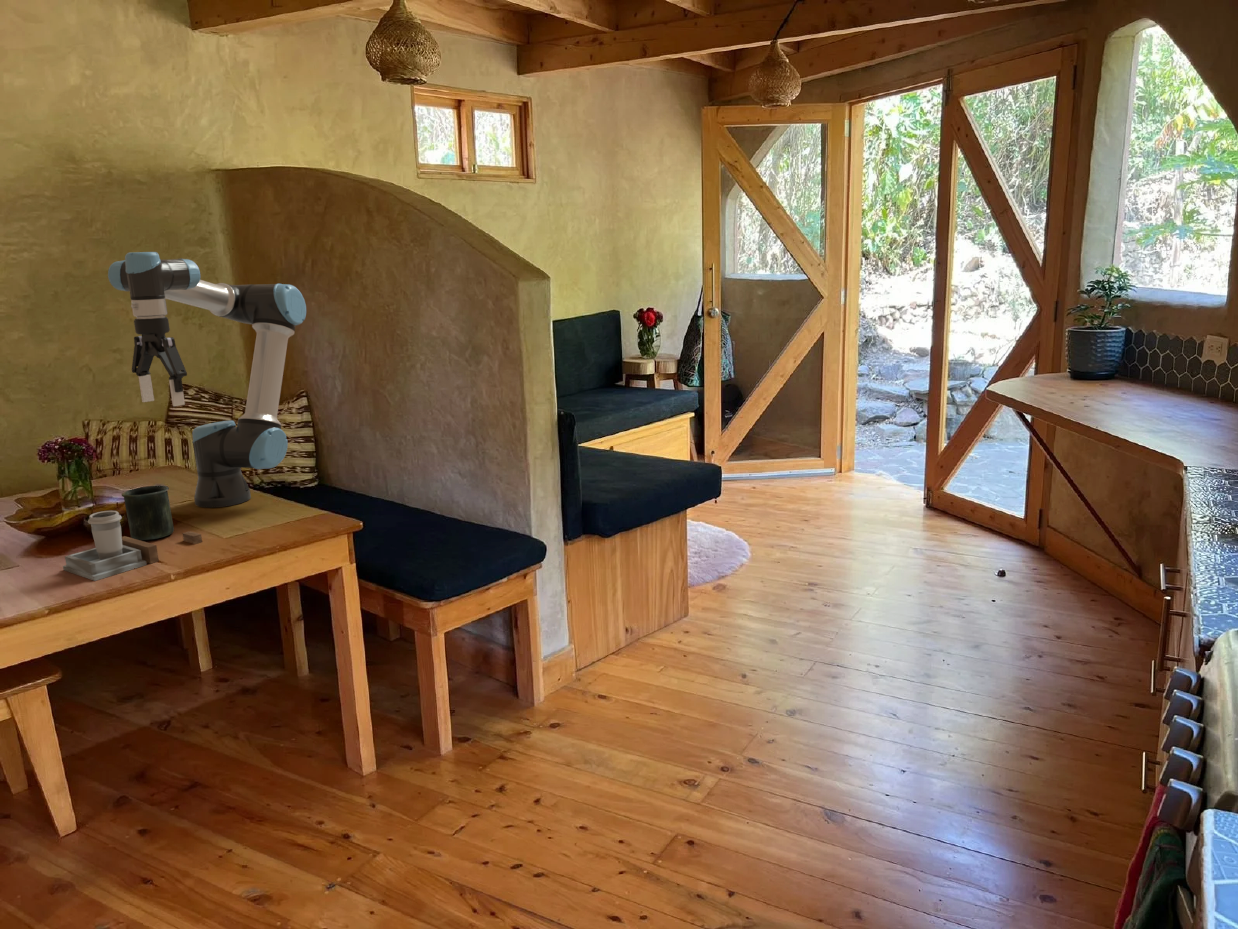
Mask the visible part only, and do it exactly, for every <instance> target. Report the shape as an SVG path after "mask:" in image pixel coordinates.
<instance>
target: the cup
mask: <svg viewBox="0 0 1238 929" xmlns="http://www.w3.org/2000/svg"><path fill="white" fill-rule="evenodd" d="M122 518H123V517H122V515H121V514H120V513H119V511H117V510H104V511H103V510H102V511H98V512H94V513H92V514H90V515H89V518H88V520H87V523H88V524H90V527H91V529H90V530H91V533H92V538H93V540H94V541H93V542H94V546H95V548H96V550H97V552H98V556H99V560H100V561H101V560H104V559H107V558H111V557H114V556H118V555H121V554H123V553H122V548H123V546H122V537H123V536H122V526H121V520H122Z"/></svg>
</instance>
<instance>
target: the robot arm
mask: <svg viewBox="0 0 1238 929" xmlns="http://www.w3.org/2000/svg"><path fill="white" fill-rule="evenodd" d="M107 277H108V281H109V283H110V284H111V286H112V287H113V288H114V289H115V290H118V291H123V292H129V296H130V301H131V305H130V308H131V309H132V316H133V317H134V319H133V325H134V332H135V333H136V334H137V335H139V336H134V337H133V341H134V342H133V344H134V347H133V353H132V354H133V355H132V365H131V373H132V374H133V373H135V375H136V376H137V377H138V383H139V389H140V396H141V402H142V403H148V402H154V401H155V395H154V389H153V383H152V376H151V374H152V373H151V372H150V368H151V366H152V363H153V360H154V357H156V358H157V359H159V360H160V362H161V363H162V365H163V367H164V369H165V370H166V372H167V373H168V375H169V377H168V381H169V382H168V383H169V389H170V396H171V403H172V407H179V406H184V405H185V404H186V400H185V396H184V388H183V380H182V379H183V378H184V377H187V376H188V373H187V370H186V367H185V365H184V363H183V360H182V358H181V355H180V352H179V351H178V349H177V345H176V341H175V338H174V337H166V334H167V333H169V332H170V331H171V329H170V323H169V318H168V316H167V315H168V307H167V301H166V300H170V301H173V302H178V303H181V304H184V305H189V306H192V307H197V308H200V309H202V310H203V309H204V310H208V311H209V312H210V313H211V314H212V315H214V316H217V317H219V318H224V319H228V320H231V321H235V322H238V323H241V324H242V323H243V324H247V325H251V328H252V329H253V330H254V331H255V333H256V338H255V342H254V348H253V349H254V351H253V355H252V356H253V357H252V358H253V359H252V364H251V369H250V370H251V371H250V378H249V385H248V391H247V397H246V404H245V410H244V413H243V415H241V416H240V417H238V420H237V424H236V422H235V421H234V420H222V421H216V422H211V423H205V424H203V425H199V426H197V427H195V428H194V429H193V430H192V446H193V452H194V459H195V467H196V472H197V483H196V487H195V492H194V496H193V497H194V505H195V506H196V507H200V508H208V509H209V508H210V509H211V508H223V507H230V506H234V505H239V504H242V503H244V502H247V501H250V500H251V498H252V496H251V495H252V494H251V489H250V487H249V485H248V483H247V481H246V480H245V478H244V475H243V474H242V469H243V468H244V469H255V470H263V469H273V468H275V467H278V465H279V464H281V462H282V461H283V460H284V459H285V457H286V454H287V452H288V446H289V445H288V441H289V440H288V439H287V434H286V432H285V431H284V430H282V423H281V422H280V421H279V420H278V414H279V405H280V400H281V399H280V398H281V392H282V384H283V378H284V376H283V375H284V370H285V364H286V355H287V348H288V342H289V338H290V337H293V336H294V335H295V334H296V333H295V331H296V326H300V325H301V324H303V322H304V321H305V320H306V316H307V304H306V300H305V298H304V296H303V294H302V292H301V291H300V290H299V289H298V288H297V287H296V286H295V285H293V284H289V283H288V284H286V283H285V284H284V283H283V284H282V283H271V284H270V283H268V284H265V283H263V284H253V283H251V284H229V283H225V282H219V283H213V282H209V281H206V280H203V279H201V271H200V268H199V266H198V265H197V263H196V262H195V261H194V260H191V259H188V258H172V259H171V258H170V259H161V258H160V255H159V253H158V252H157V251H142V252H140V251H137V252H127V253H126V254H125V256H124V260H119V261H118V260H117V261H114V262H113V263H111V264H110V266H109V268H108V272H107ZM135 317H136V318H135ZM185 406H186V405H185Z"/></svg>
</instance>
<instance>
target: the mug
mask: <svg viewBox="0 0 1238 929" xmlns="http://www.w3.org/2000/svg"><path fill="white" fill-rule="evenodd" d="M169 489H170V488H169V486H167V485H148V486H140V487H136V488H132V489H128V490H126V491H123V492H122V493H121V497H123V499H124V504H125V512H126V516H127V523H128V527H129V533H130V538H133V539H137V540H140V541H150V540H157V539H160V538H161V539H162V538H164V537H167V536H170V535H171V534H173V533H174V531H175V527H174V522H173V516H172V510H171V505H170V498H169V492H168V491H169Z"/></svg>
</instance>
